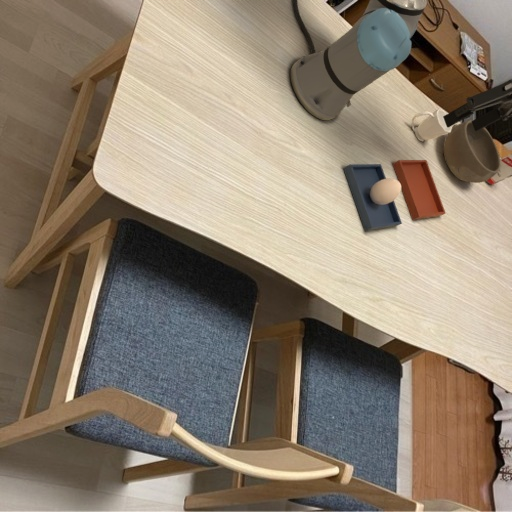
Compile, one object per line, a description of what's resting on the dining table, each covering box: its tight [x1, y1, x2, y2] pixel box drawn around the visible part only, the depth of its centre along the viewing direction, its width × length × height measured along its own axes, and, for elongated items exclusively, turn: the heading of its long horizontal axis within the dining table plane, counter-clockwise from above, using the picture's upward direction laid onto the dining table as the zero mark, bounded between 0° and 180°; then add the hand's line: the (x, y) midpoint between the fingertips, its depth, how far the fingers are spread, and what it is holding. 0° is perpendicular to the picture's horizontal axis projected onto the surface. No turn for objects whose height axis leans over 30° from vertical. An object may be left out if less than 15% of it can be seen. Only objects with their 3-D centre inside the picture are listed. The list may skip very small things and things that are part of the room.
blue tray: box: [343, 163, 403, 232], centre depth 132 cm, size 15×12×2 cm
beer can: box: [485, 153, 512, 185], centre depth 172 cm, size 6×6×16 cm
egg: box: [370, 178, 402, 205], centre depth 129 cm, size 6×6×8 cm
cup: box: [411, 108, 453, 142], centre depth 154 cm, size 7×10×8 cm
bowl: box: [442, 119, 501, 184], centre depth 163 cm, size 17×18×10 cm
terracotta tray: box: [392, 159, 447, 221], centre depth 147 cm, size 15×13×2 cm
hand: (460, 124), depth 136 cm, fingers open, 13 cm apart
